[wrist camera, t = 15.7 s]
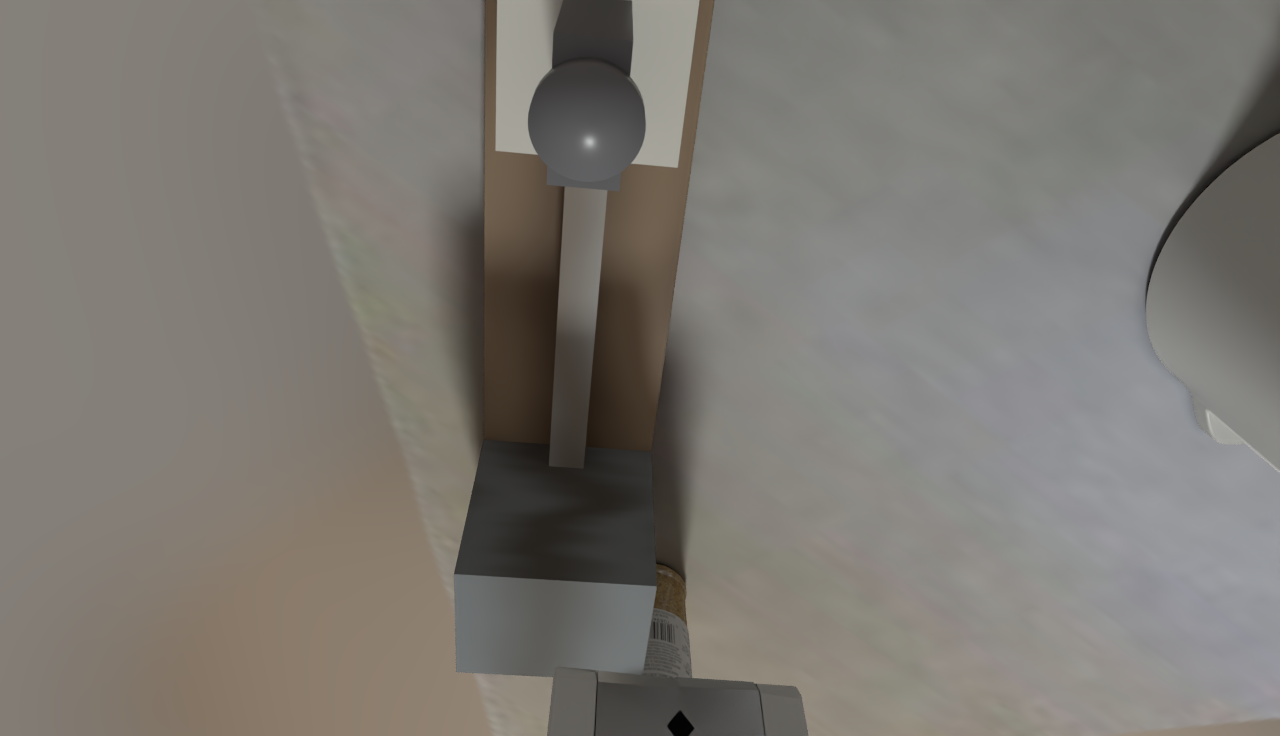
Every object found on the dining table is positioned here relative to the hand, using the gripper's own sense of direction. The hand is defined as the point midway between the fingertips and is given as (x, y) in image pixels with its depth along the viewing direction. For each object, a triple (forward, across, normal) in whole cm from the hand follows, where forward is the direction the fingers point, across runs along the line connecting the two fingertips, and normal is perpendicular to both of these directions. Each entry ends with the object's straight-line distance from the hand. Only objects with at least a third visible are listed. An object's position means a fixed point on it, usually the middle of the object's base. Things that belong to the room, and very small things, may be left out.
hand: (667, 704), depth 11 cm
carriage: (+25, +2, -2) cm, 26 cm away
